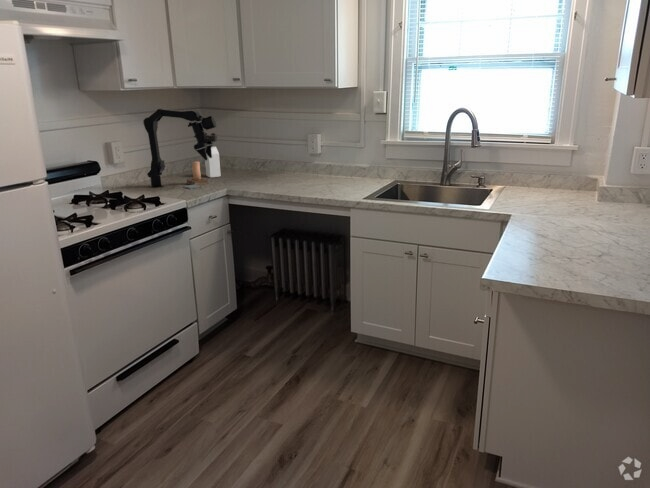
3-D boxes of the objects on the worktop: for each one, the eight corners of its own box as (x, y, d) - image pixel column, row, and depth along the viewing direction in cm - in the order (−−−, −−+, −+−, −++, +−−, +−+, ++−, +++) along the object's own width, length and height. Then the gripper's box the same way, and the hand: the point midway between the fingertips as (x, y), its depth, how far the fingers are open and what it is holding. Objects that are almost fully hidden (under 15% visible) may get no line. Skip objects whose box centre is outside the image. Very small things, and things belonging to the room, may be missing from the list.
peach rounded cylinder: (192, 183, 300) (190, 162, 296) (198, 182, 303) (196, 161, 299) (196, 184, 297) (194, 162, 293) (202, 183, 300) (200, 162, 296)
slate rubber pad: (183, 187, 289) (183, 186, 289) (194, 185, 294) (194, 184, 293) (190, 189, 284) (189, 187, 284) (200, 187, 289) (200, 186, 289)
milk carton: (220, 176, 323) (218, 147, 318) (210, 177, 319) (207, 147, 314) (216, 175, 329) (214, 146, 323) (206, 176, 325) (203, 146, 319)
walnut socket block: (187, 183, 300) (186, 179, 299) (200, 181, 306) (199, 177, 305) (195, 185, 294) (194, 181, 293) (208, 183, 300) (207, 179, 299)
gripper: (207, 129, 272) (217, 157, 277) (216, 127, 290) (225, 153, 294) (189, 135, 274) (199, 162, 278) (199, 132, 291) (208, 158, 296)
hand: (208, 158), depth 286 cm, fingers open, 9 cm apart
